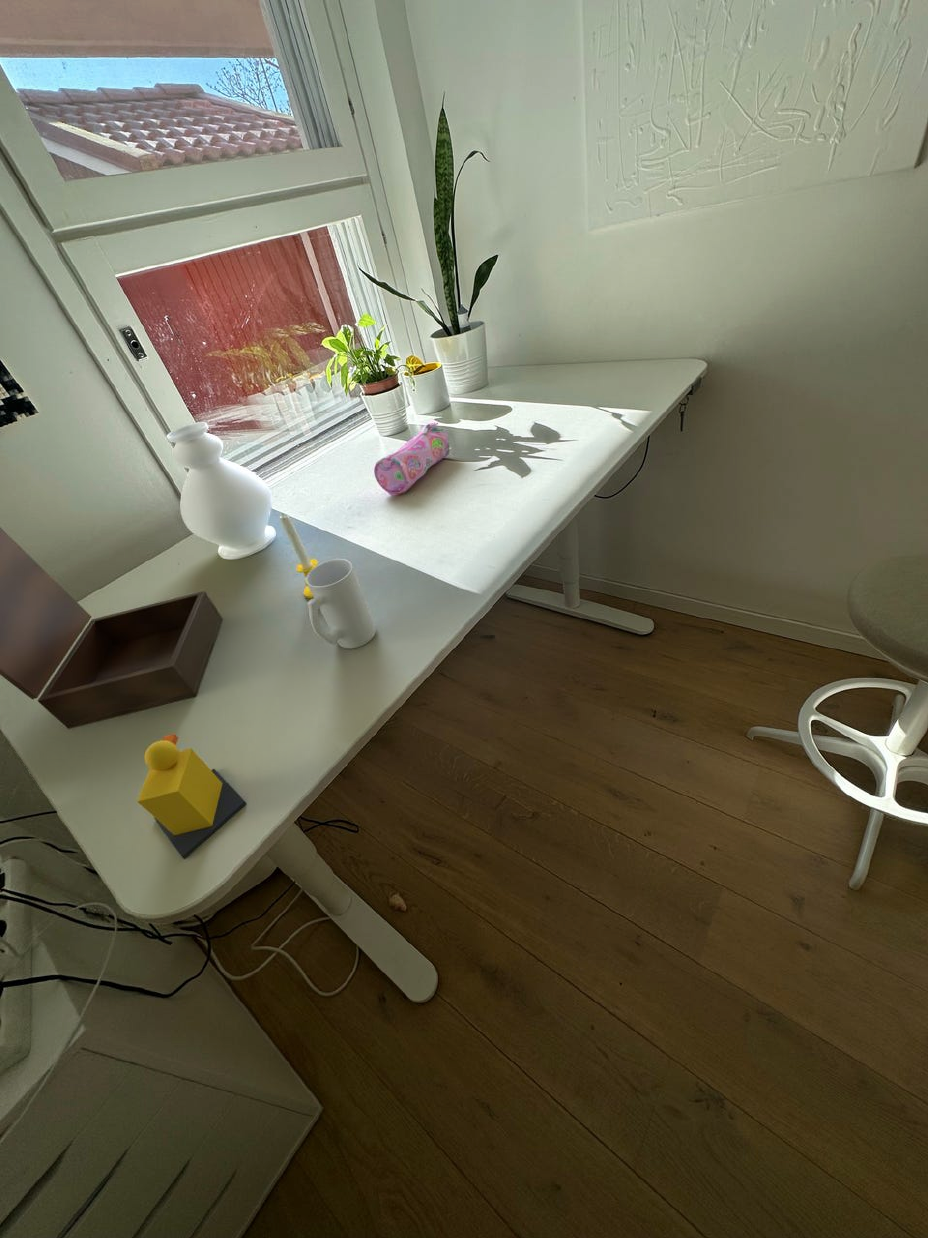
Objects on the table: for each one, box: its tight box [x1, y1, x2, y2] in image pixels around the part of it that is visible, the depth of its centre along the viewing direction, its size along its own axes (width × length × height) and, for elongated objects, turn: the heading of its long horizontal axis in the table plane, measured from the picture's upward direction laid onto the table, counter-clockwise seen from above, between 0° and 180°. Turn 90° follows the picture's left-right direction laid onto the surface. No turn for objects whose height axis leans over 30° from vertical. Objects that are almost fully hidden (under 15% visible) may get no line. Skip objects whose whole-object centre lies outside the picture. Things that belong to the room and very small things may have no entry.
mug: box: [305, 558, 377, 649], centre depth 76 cm, size 10×7×12 cm, turn 156°
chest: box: [37, 590, 224, 729], centre depth 82 cm, size 20×19×6 cm
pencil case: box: [373, 422, 451, 496], centre depth 119 cm, size 21×9×9 cm, turn 151°
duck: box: [136, 733, 222, 835], centre depth 58 cm, size 4×7×10 cm, turn 9°
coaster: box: [153, 768, 247, 860], centre depth 61 cm, size 8×8×1 cm
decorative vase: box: [166, 421, 277, 560], centre depth 105 cm, size 18×18×25 cm
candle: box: [278, 513, 319, 600], centre depth 88 cm, size 5×5×16 cm
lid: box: [0, 526, 92, 700], centre depth 74 cm, size 21×19×1 cm
